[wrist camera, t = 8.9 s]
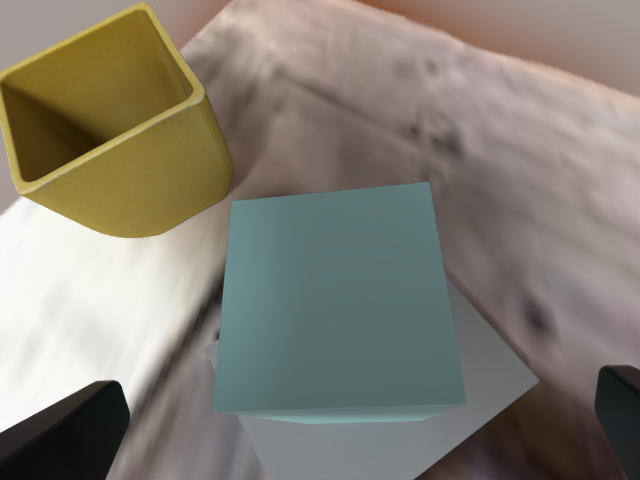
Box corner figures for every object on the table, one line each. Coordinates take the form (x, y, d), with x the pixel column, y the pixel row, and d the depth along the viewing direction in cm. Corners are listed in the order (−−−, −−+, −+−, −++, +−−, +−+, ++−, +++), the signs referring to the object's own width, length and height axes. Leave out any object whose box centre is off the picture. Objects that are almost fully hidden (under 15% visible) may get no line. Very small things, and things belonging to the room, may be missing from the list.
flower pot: (101, 177, 28) (-15, 73, 20) (212, 117, 29) (144, -5, 21) (139, 276, 24) (14, 197, 16) (265, 203, 25) (209, 94, 17)
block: (420, 420, 17) (466, 403, 8) (307, 423, 18) (212, 411, 8) (407, 308, 20) (429, 181, 10) (306, 314, 20) (231, 201, 10)
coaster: (530, 383, 18) (539, 380, 17) (314, 552, 17) (309, 560, 16) (395, 229, 23) (395, 219, 22) (213, 352, 21) (203, 348, 20)
